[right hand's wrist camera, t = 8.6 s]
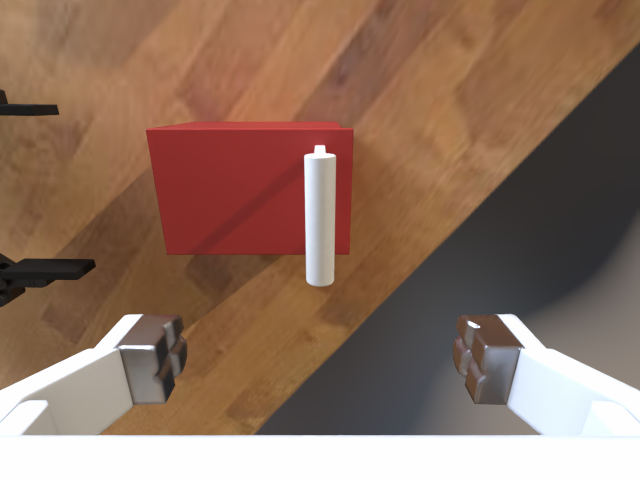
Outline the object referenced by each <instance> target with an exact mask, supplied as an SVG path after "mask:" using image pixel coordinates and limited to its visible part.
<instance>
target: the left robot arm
mask: <svg viewBox="0 0 640 480" xmlns="http://www.w3.org/2000/svg"><path fill="white" fill-rule="evenodd" d="M0 115H15V116H40V115H59V112H58V107H57V105H40V104H8V102H7V98H6V95H5V92H4V91H3V90H1V89H0ZM95 267H96V265H95V261H94V259H23V260H21V261H19V262H17V263H15V262H14V261H12V260H10V259H9V258H7V257H6V256H4V255H2V254H1V253H0V307H2V306H4V305H6V304H7V303H9V302H11V301H12V300H14V299H15V298H17V297H18V296H20V295H21V294H23V293H25V287H37V288H42V287H45V286H47V285H49V284H50V283H52V282H53V281H55V280H78V279H80V278H81V277H82V276H84V275H85V274H86V273H88V272H89V271H91V270H92V269H93V268H95Z"/></svg>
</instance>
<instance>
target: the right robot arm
mask: <svg viewBox="0 0 640 480" xmlns="http://www.w3.org/2000/svg"><path fill="white" fill-rule="evenodd" d="M183 328H184V326H183V321H182V318H181V317H180V316H179V315H148V314H146V315H144V314H129V315H125V316H124V317H123V318H122V319H121V320H120V321H119V322H118V323H117V324H116V325H115V326H114V327H113V328H112V330H111V331H110V332H109V333H108V334H107V335H106V336H105V337H104V338H103V339H102V340H101V341H100V342H99V343H98V345H97V346H96V347H95V348H94V349H86V350H84V351H82V352H80V353H78V354H76V355H74V356H72V357H70V358H68V359H66V360H63V361H61V362H59V363H57V364H55V365H53V366H51V367H49V368H47V369H45V370H42V371H40V372H38V373H36V374H34V375H32V376H30V377H28V378H26V379H24V380H22V381H19V382H17V383H15V384H13V385H11V386H9V387H7V388H5V389H3V390H1V391H0V480H640V391H639V390H637V389H635V388H633V387H631V386H629V385H627V384H625V383H622V382H620V381H618V380H616V379H614V378H612V377H610V376H608V375H606V374H604V373H602V372H599V371H597V370H595V369H593V368H591V367H589V366H587V365H585V364H583V363H581V362H579V361H576V360H574V359H572V358H570V357H568V356H566V355H564V354H562V353H560V352H558V351H556V350H554V349H546V348H545V347H544V346H543V345H542V344H541V342H540V341H539V340H538V339H537V338H536V337H535V336H534V335H533V334H532V333H531V332H530V331H529V329H528V328H527V327H526V326H525V325H524V324H523V323H522V322H521V321H520V320H519V319H518V318H517V317H516V316H515V315H512V314H502V315H468V316H459V318H458V320H457V325H456V328H457V330H458V332H459V334H460V335H459V336H458V337H457V338H456V339H455V340H454V344H453V359H454V363H455V366H456V369H457V371H458V373H459V374H460V375H462V376H463V377H465V378H466V382H465V386H466V388H467V390H468V392H469V394H470V396H471V398H472V400H473V402H474V403H475V404H497V405H507V407H508V408H509V409H511V410H512V411H513V412H514V413H515V414H517V415H518V416H519V417H520V418H521V419H523V420H524V421H525V422H526V423H528V424H529V425H530V426H531V427H532V428H534V429H535V430H536V431H537V432H539V433H540V434H541V435H99V434H100V433H102V432H103V431H104V430H105V429H106V428H108V427H109V426H110V425H111V424H113V423H114V422H115V421H116V420H117V419H119V418H120V417H121V416H122V415H124V414H125V413H126V412H127V411H128V410H130V409H131V408H132V407H133V405H143V404H166V402H167V400H168V398H169V396H170V394H171V392H172V390H173V388H174V386H175V382H174V378H175V377H177V376H178V375H180V374H181V373H182V371H183V369H184V366H185V363H186V358H187V344H186V340H185V339H184V338H183V337H182V336H181V335H180V334H181V332H182V330H183Z"/></svg>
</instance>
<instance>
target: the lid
mask: <svg viewBox="0 0 640 480" xmlns="http://www.w3.org/2000/svg"><path fill="white" fill-rule="evenodd" d="M146 134H147V140H148V145H149V151H150V157H151V163H152V169H153V175H154V180H155V186H156V192H157V198H158V204H159V209H160V215H161V221H162V227H163V233H164V239H165V244H166V250H167V255H306V280H307V282H308V283H309V284H310V285H313V286H319V287H322V286H328V285H330V284H332V283H333V281H334V257H335V255H342V254H349V249H350V218H351V187H352V156H353V129H352V128H150V129H146Z"/></svg>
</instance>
